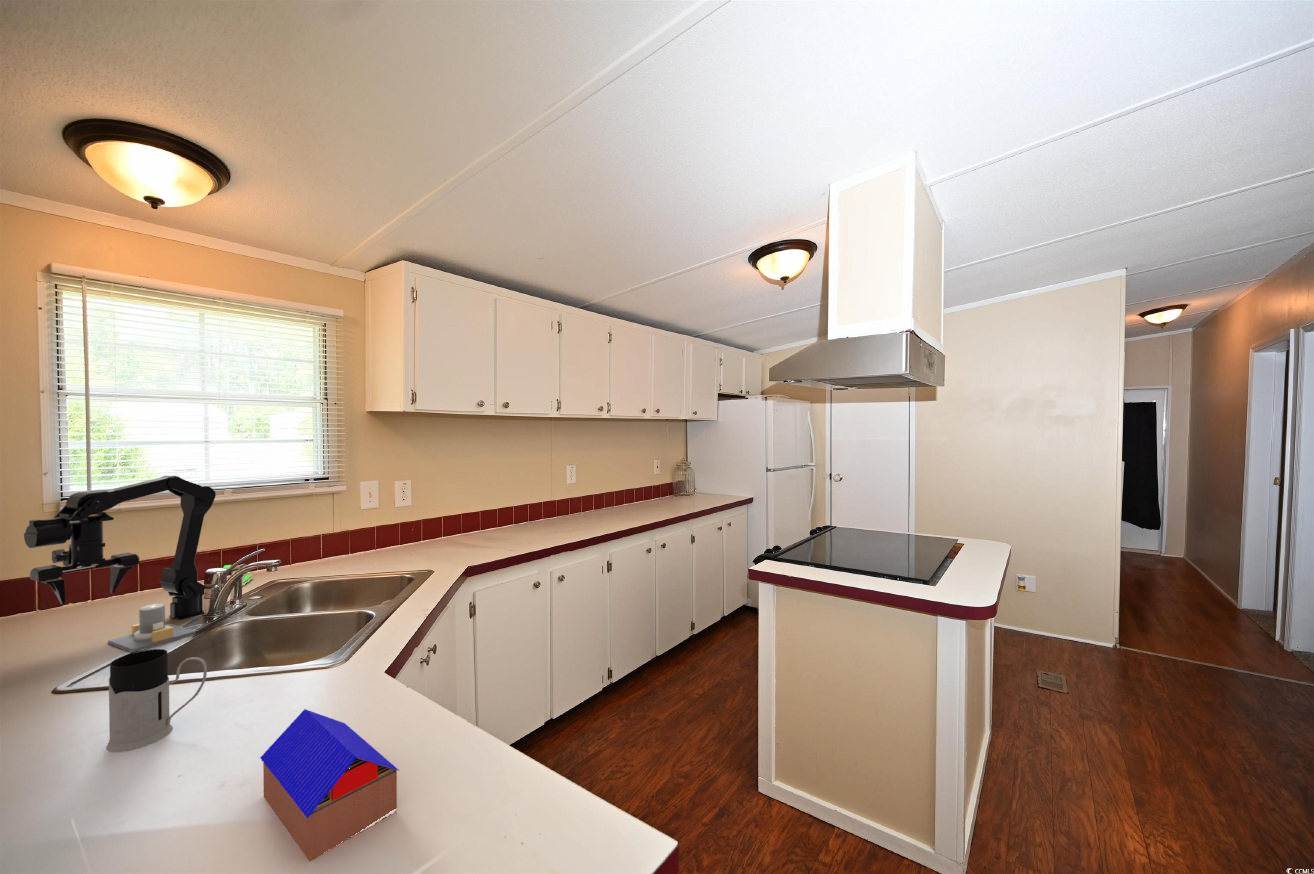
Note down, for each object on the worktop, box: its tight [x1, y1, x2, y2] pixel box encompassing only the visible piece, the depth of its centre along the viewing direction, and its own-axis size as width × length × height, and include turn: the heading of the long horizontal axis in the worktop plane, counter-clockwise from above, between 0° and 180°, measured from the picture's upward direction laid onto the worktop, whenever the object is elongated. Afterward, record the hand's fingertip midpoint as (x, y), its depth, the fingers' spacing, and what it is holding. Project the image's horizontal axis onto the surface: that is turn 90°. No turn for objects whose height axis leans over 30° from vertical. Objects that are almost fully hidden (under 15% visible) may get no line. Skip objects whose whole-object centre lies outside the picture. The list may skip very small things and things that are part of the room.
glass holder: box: [105, 648, 208, 753], centre depth 96 cm, size 9×14×15 cm, turn 112°
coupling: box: [138, 603, 166, 634], centre depth 140 cm, size 7×5×6 cm
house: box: [259, 709, 400, 862], centre depth 78 cm, size 12×20×12 cm, turn 52°
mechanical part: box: [222, 564, 253, 583], centre depth 189 cm, size 12×6×8 cm, turn 22°
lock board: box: [107, 623, 196, 653], centre depth 140 cm, size 13×13×4 cm
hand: (88, 598), depth 136 cm, fingers open, 9 cm apart
